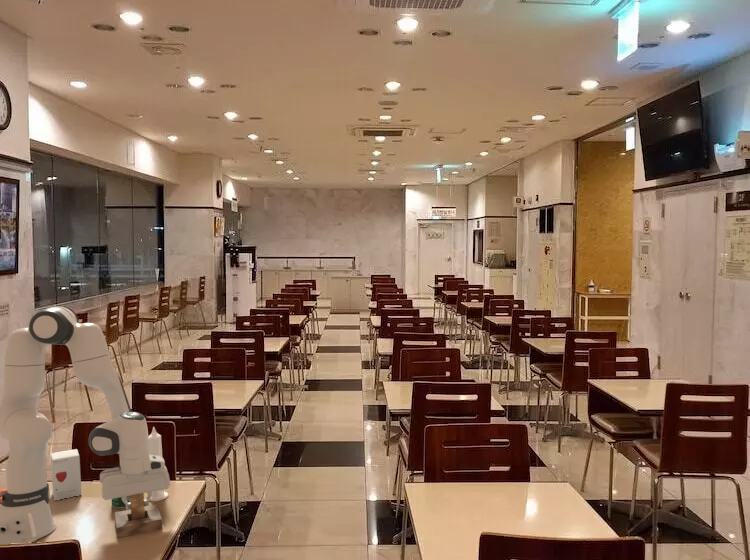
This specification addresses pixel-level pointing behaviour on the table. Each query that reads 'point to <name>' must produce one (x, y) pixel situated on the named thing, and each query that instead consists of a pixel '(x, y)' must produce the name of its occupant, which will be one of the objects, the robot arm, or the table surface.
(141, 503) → the wick peg
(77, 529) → the table surface
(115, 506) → the canned tomato
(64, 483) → the supplement box
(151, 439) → the candle
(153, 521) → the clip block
